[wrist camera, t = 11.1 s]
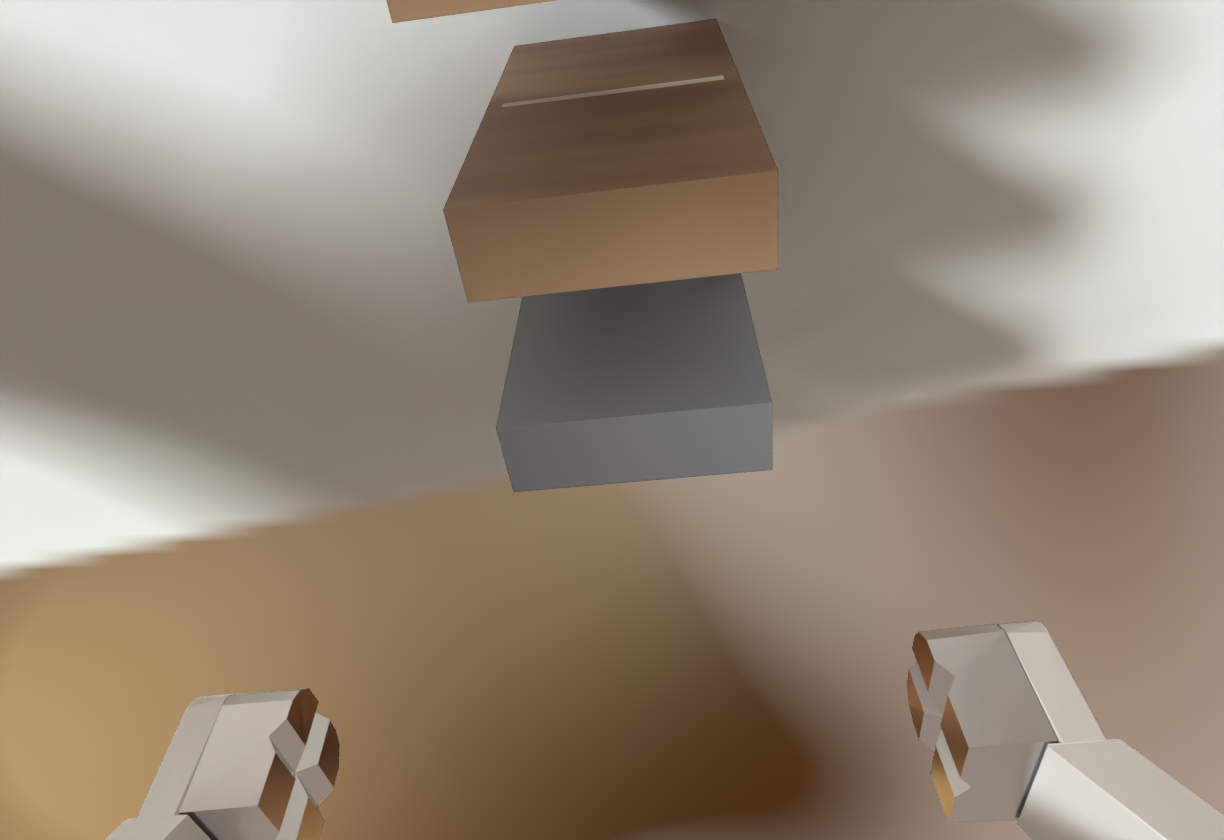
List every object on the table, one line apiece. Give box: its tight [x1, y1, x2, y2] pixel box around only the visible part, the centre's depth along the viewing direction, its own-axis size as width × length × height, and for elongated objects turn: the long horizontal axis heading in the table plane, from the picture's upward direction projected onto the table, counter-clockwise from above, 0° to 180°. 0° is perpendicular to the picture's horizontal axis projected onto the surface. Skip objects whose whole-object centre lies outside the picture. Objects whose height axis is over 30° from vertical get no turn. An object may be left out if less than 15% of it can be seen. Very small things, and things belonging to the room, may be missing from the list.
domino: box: [443, 19, 778, 302], centre depth 16 cm, size 2×5×10 cm, turn 98°
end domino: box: [496, 273, 772, 492], centre depth 19 cm, size 2×5×10 cm, turn 97°
